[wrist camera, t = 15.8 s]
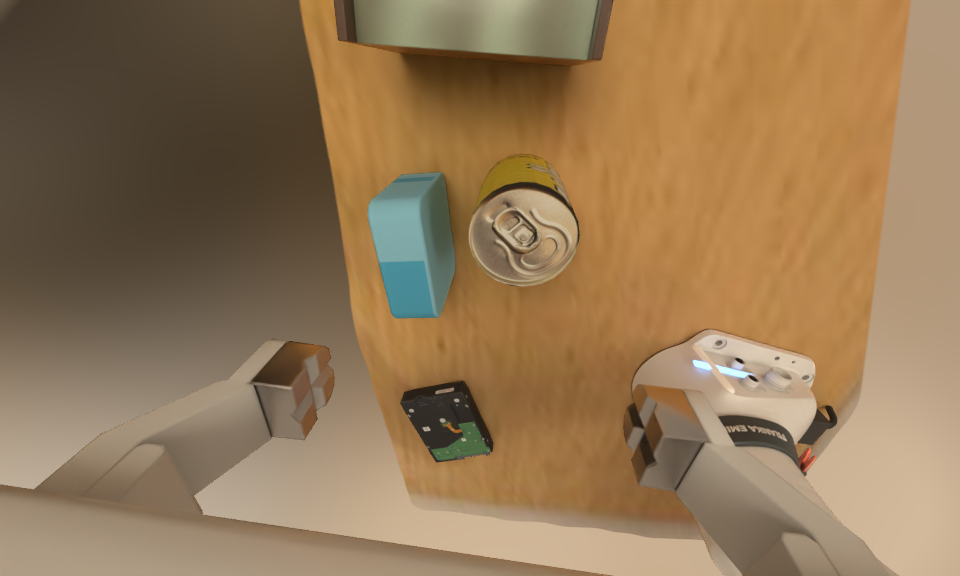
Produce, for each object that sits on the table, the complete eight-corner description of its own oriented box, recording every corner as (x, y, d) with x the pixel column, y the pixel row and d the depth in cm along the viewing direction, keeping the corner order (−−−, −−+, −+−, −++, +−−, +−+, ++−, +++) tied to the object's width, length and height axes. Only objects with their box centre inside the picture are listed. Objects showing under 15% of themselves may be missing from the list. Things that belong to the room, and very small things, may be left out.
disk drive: (403, 389, 57) (439, 449, 63) (398, 403, 55) (435, 464, 61) (464, 377, 54) (495, 441, 61) (461, 391, 52) (494, 456, 58)
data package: (403, 171, 40) (363, 204, 29) (444, 168, 39) (417, 201, 29) (421, 268, 45) (393, 325, 35) (457, 267, 45) (438, 324, 35)
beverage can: (523, 249, 43) (525, 304, 33) (464, 201, 41) (446, 243, 30) (581, 192, 39) (603, 234, 29) (519, 134, 37) (519, 157, 26)
